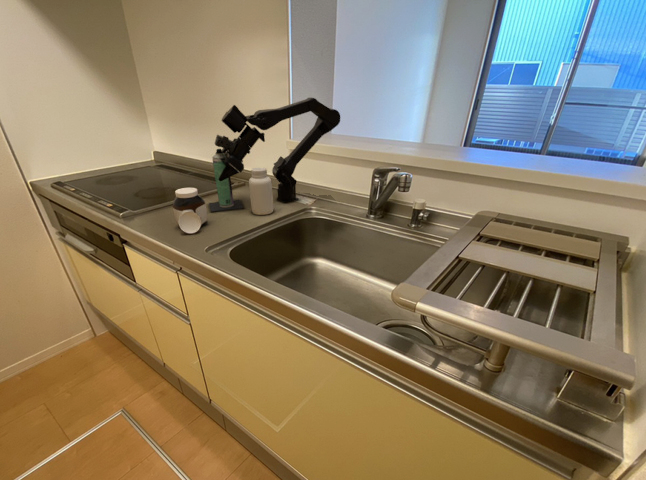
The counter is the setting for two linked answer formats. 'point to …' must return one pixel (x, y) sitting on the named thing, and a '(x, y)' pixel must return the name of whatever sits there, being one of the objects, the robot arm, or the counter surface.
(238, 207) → the mat
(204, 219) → the spread jar
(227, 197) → the spray can
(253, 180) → the pill bottle
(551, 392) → the counter surface
